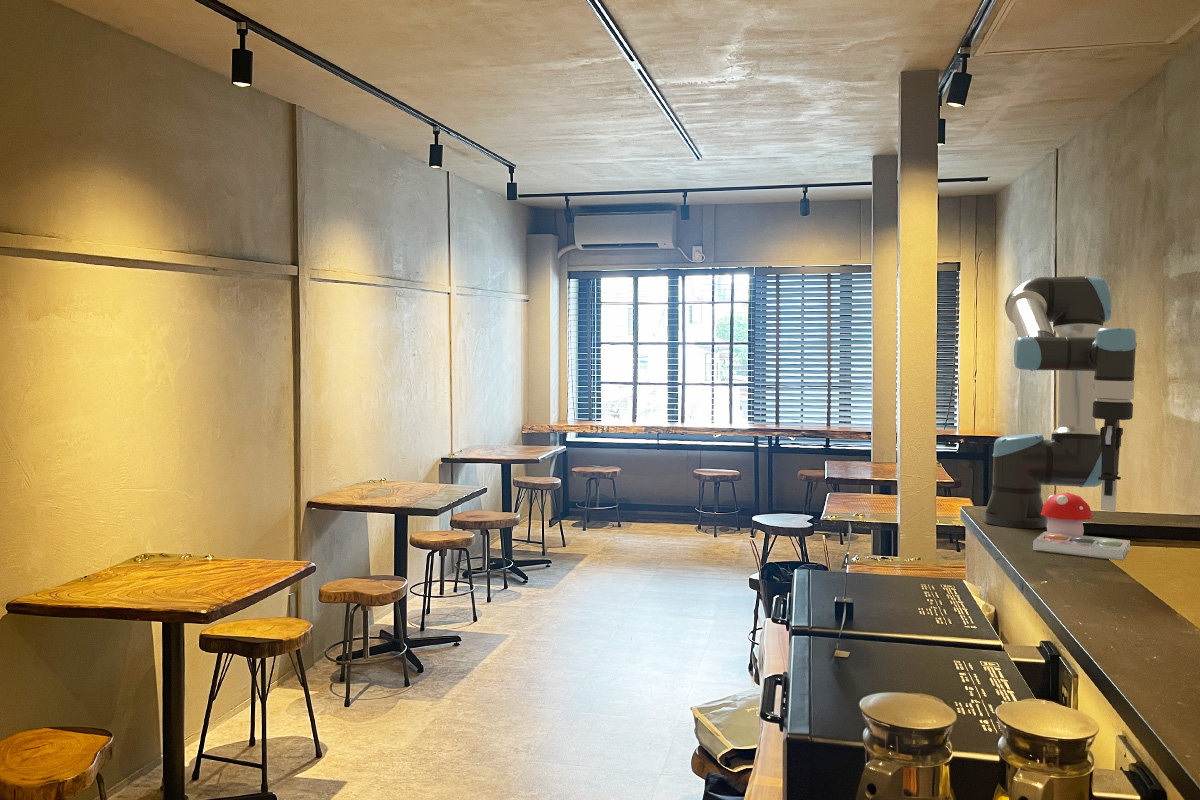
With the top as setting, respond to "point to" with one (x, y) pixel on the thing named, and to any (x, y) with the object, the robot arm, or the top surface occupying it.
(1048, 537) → the button terracotta
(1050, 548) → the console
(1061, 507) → the mushroom
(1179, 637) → the top surface
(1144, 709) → the top surface
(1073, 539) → the button charcoal
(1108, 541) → the button sage
